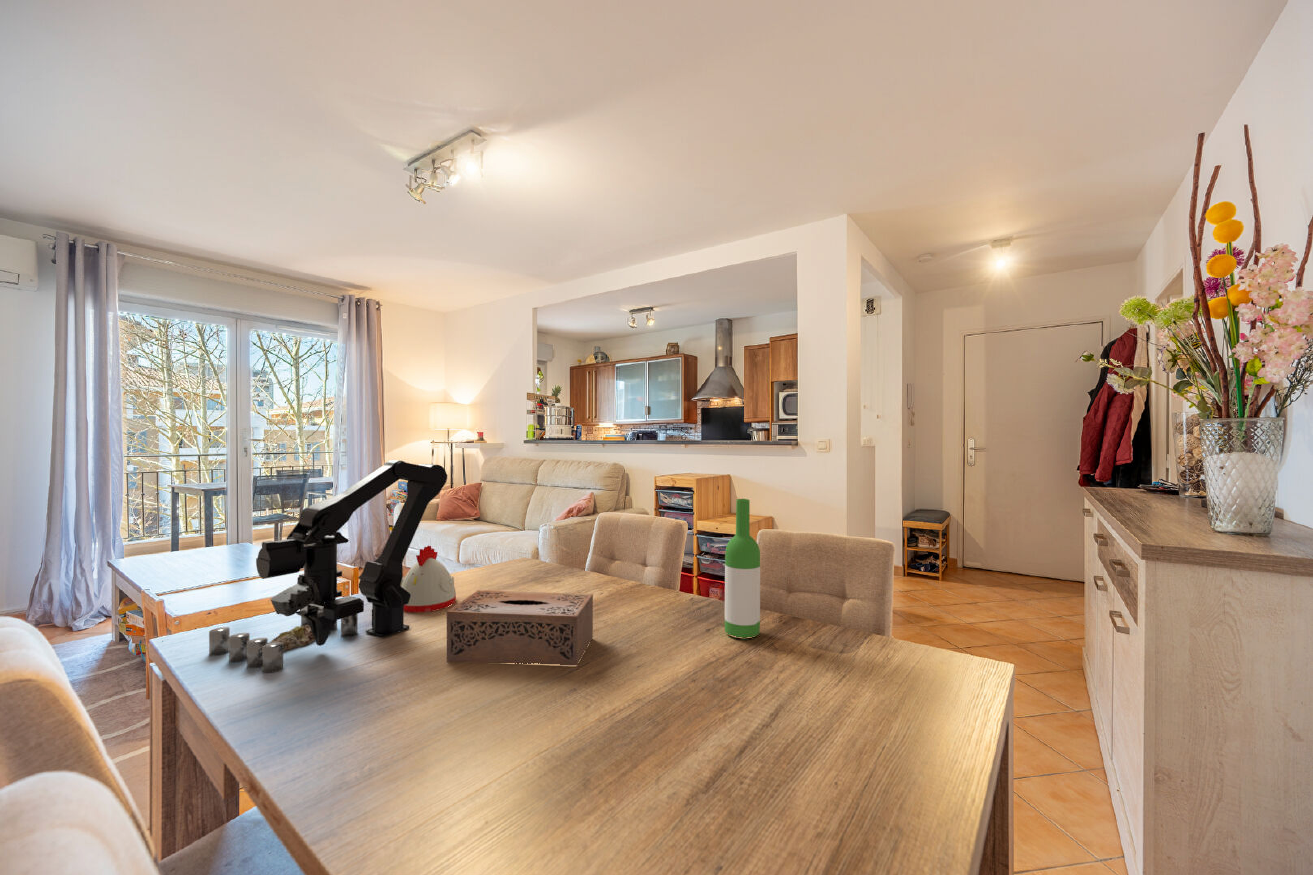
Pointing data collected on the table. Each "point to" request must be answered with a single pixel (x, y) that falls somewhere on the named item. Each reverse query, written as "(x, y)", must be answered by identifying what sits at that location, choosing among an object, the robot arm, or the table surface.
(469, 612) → the tissue box cover
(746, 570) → the wine bottle
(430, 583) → the kitchen timer
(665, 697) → the table surface
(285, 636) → the mineral rock
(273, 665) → the spacer posts
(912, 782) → the table surface
